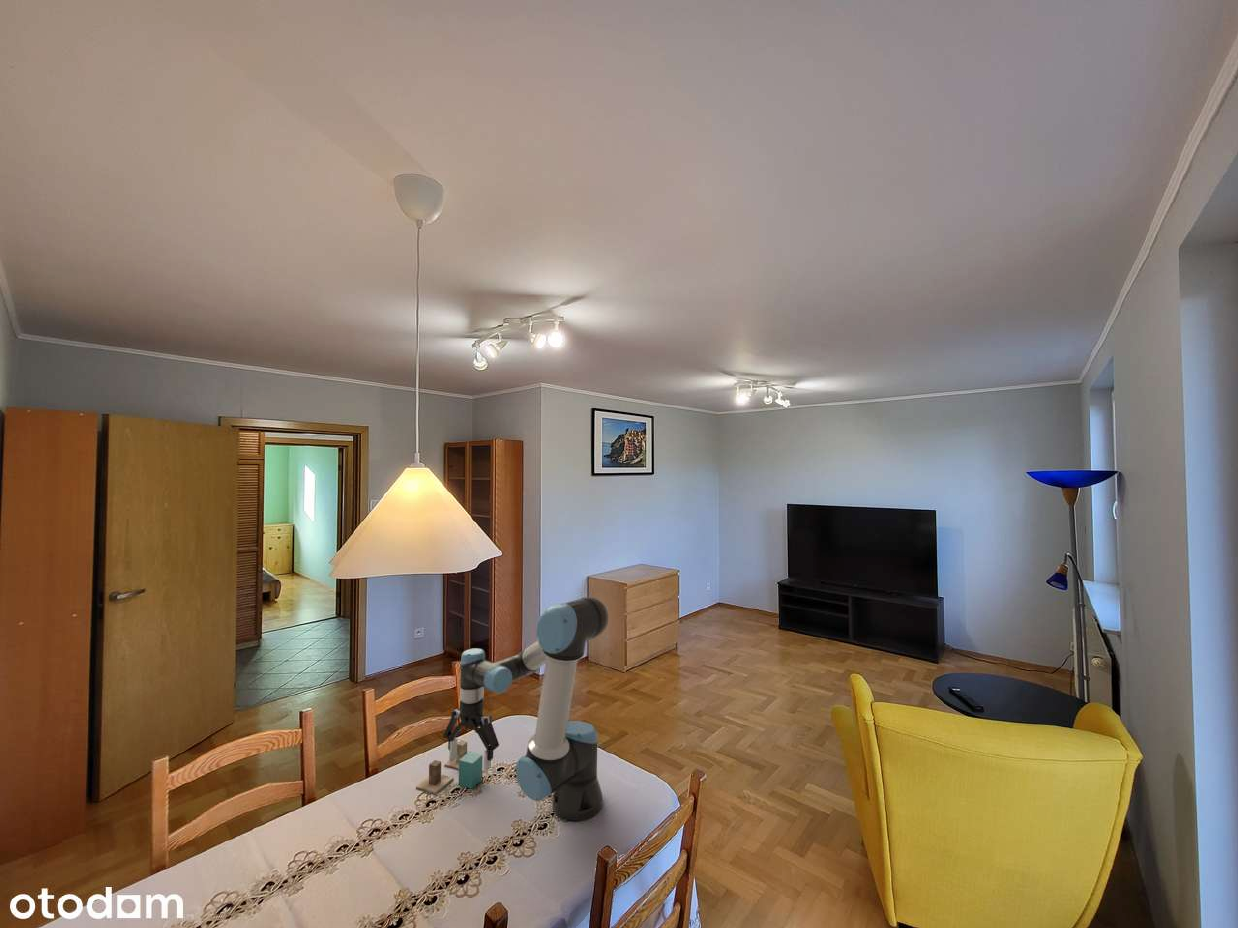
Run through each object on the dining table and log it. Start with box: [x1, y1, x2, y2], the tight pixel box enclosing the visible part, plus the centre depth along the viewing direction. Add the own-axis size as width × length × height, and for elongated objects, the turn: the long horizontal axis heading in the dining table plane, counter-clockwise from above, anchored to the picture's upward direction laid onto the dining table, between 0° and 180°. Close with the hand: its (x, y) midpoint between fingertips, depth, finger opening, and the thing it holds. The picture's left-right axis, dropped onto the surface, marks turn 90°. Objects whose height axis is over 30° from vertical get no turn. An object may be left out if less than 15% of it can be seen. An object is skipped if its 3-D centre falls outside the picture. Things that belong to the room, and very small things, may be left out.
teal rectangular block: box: [458, 751, 483, 789], centre depth 156 cm, size 5×5×8 cm
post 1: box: [415, 759, 454, 795], centre depth 154 cm, size 8×8×7 cm
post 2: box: [443, 739, 468, 771], centre depth 166 cm, size 8×8×7 cm
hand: (469, 764), depth 156 cm, fingers open, 13 cm apart
